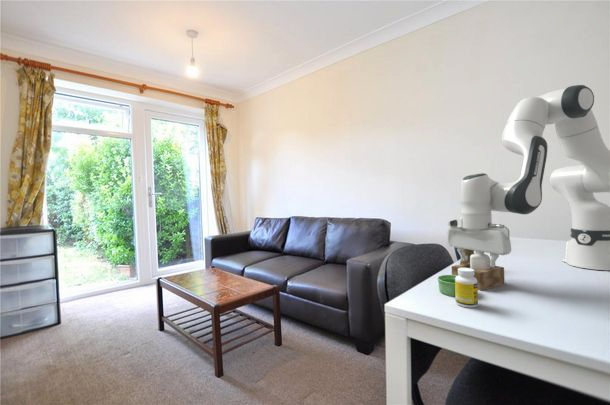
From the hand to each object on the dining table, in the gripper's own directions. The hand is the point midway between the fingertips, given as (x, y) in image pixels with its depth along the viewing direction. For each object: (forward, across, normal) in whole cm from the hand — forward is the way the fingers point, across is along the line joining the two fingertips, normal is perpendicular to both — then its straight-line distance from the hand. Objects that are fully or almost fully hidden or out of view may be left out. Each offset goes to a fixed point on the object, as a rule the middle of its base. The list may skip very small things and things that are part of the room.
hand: (477, 263), depth 96 cm
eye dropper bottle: (+5, -1, 0) cm, 5 cm away
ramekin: (+7, -2, +14) cm, 16 cm away
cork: (+7, +13, -13) cm, 20 cm away
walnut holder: (+7, 0, 0) cm, 7 cm away
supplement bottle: (+7, -10, +19) cm, 23 cm away
